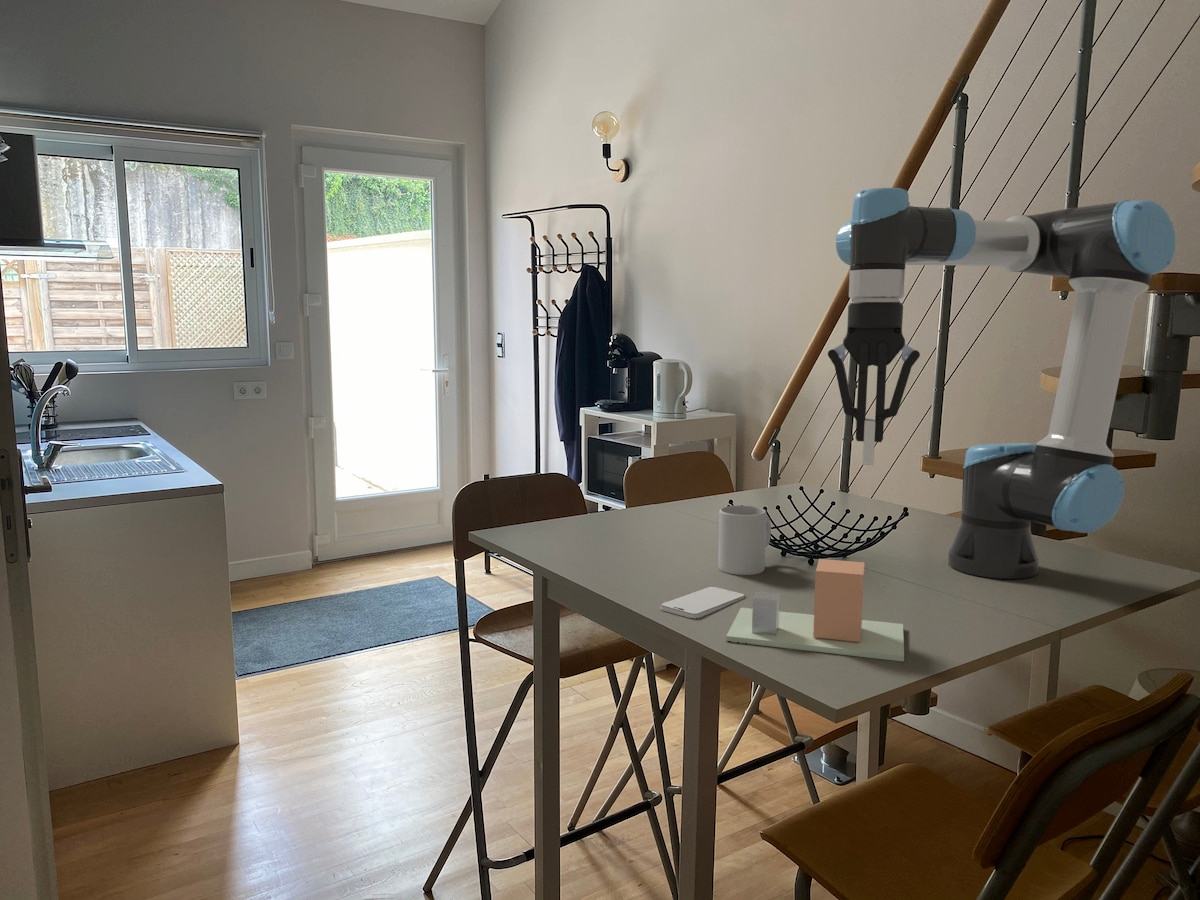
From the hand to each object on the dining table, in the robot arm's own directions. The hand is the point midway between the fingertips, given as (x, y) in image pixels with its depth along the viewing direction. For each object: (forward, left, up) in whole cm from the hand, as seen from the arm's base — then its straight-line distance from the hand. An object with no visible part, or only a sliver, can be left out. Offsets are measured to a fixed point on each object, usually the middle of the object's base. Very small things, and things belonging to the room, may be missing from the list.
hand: (868, 463), depth 130 cm
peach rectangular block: (+3, +8, -23) cm, 25 cm away
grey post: (+13, +10, -24) cm, 29 cm away
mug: (+21, -25, -25) cm, 41 cm away
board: (+6, +8, -24) cm, 26 cm away
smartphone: (+24, -2, -25) cm, 35 cm away
